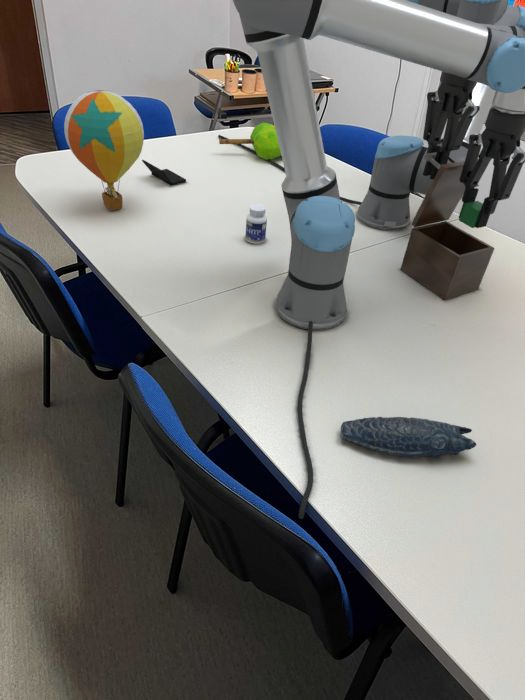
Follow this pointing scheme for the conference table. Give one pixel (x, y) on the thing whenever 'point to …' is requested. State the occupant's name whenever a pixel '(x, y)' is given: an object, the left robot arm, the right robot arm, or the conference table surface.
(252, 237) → the pill bottle
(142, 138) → the toy
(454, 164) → the lid
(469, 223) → the block
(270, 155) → the decorative tree
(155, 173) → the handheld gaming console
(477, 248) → the chest
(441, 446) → the fish model
